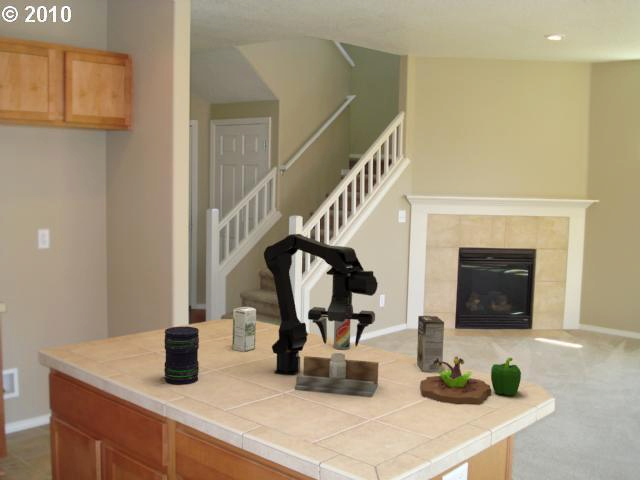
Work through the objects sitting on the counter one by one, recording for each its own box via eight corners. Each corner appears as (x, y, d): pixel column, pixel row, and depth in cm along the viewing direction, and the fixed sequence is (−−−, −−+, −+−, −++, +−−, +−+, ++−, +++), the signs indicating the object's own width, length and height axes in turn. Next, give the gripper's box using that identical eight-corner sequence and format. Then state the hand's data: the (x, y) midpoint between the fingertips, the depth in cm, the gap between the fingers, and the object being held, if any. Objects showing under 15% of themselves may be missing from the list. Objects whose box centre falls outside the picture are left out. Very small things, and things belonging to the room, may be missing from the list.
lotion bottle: (348, 350, 240) (349, 293, 238) (332, 349, 241) (333, 292, 239) (350, 346, 246) (352, 291, 244) (335, 345, 247) (336, 290, 245)
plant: (413, 400, 188) (415, 360, 187) (424, 380, 207) (425, 344, 206) (488, 409, 182) (490, 367, 181) (492, 388, 201) (494, 350, 200)
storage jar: (205, 378, 203) (205, 328, 201) (185, 387, 194) (185, 335, 193) (177, 373, 207) (178, 325, 206) (157, 382, 198) (157, 331, 197)
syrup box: (243, 346, 242) (243, 306, 241) (255, 349, 239) (256, 308, 237) (232, 349, 237) (232, 308, 236) (244, 352, 234) (245, 310, 233)
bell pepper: (504, 399, 189) (506, 364, 188) (484, 391, 197) (486, 356, 196) (527, 395, 193) (529, 360, 192) (506, 387, 200) (508, 354, 200)
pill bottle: (347, 382, 199) (348, 353, 198) (342, 386, 194) (343, 357, 194) (331, 380, 200) (332, 351, 200) (326, 384, 196) (327, 355, 195)
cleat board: (294, 389, 194) (295, 365, 193) (304, 379, 204) (305, 356, 204) (371, 397, 189) (372, 372, 188) (377, 385, 199) (378, 362, 199)
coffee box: (416, 364, 224) (417, 315, 222) (435, 364, 224) (437, 315, 223) (422, 372, 215) (424, 321, 213) (442, 372, 215) (444, 321, 214)
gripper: (303, 293, 191) (302, 348, 193) (369, 298, 187) (367, 354, 188) (313, 287, 202) (312, 339, 203) (376, 291, 197) (374, 345, 199)
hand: (340, 344), depth 198 cm, fingers open, 9 cm apart
